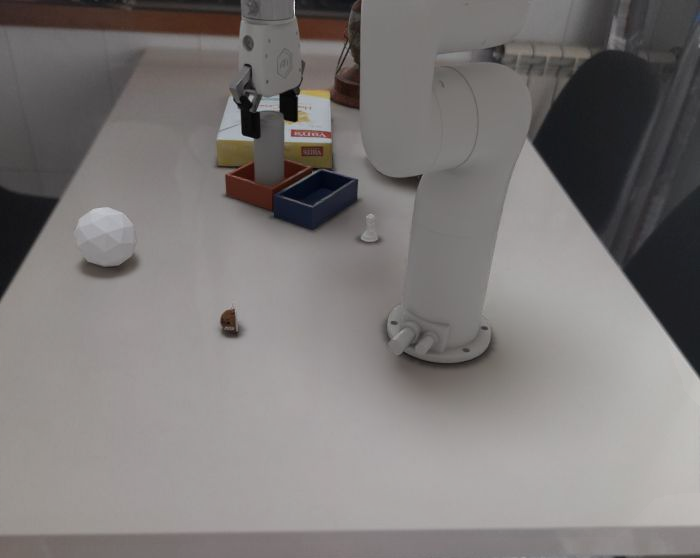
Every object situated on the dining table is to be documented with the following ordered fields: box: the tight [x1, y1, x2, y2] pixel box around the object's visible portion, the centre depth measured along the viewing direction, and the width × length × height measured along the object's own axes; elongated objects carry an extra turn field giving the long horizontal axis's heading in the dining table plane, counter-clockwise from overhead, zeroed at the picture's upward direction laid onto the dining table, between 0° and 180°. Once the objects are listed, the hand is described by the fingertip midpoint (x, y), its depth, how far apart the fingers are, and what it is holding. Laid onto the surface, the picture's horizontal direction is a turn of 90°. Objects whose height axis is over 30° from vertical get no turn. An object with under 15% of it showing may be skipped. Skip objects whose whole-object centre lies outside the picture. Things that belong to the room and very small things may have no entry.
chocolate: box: [219, 299, 239, 334], centre depth 85 cm, size 3×2×4 cm
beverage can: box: [254, 110, 284, 187], centre depth 114 cm, size 5×5×12 cm
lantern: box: [328, 0, 362, 110], centre depth 152 cm, size 19×19×30 cm
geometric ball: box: [73, 206, 138, 268], centre depth 95 cm, size 8×8×8 cm
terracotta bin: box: [224, 159, 313, 212], centre depth 117 cm, size 11×9×4 cm
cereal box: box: [215, 89, 333, 169], centre depth 135 cm, size 20×6×28 cm
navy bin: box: [272, 168, 359, 230], centre depth 113 cm, size 13×7×4 cm, turn 149°
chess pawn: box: [360, 213, 379, 243], centre depth 105 cm, size 3×2×4 cm
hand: (270, 128), depth 111 cm, fingers open, 9 cm apart
